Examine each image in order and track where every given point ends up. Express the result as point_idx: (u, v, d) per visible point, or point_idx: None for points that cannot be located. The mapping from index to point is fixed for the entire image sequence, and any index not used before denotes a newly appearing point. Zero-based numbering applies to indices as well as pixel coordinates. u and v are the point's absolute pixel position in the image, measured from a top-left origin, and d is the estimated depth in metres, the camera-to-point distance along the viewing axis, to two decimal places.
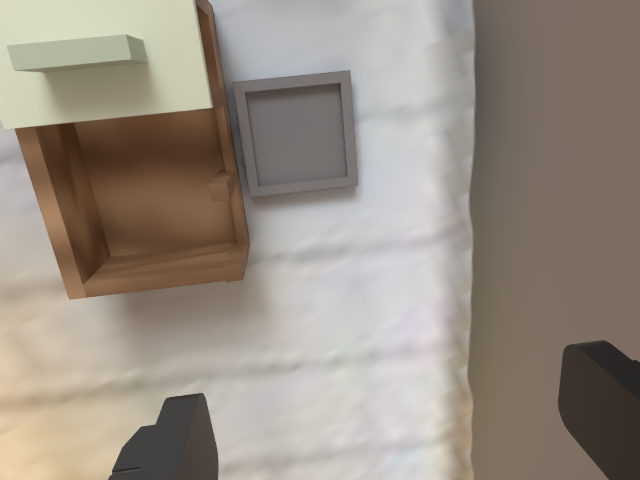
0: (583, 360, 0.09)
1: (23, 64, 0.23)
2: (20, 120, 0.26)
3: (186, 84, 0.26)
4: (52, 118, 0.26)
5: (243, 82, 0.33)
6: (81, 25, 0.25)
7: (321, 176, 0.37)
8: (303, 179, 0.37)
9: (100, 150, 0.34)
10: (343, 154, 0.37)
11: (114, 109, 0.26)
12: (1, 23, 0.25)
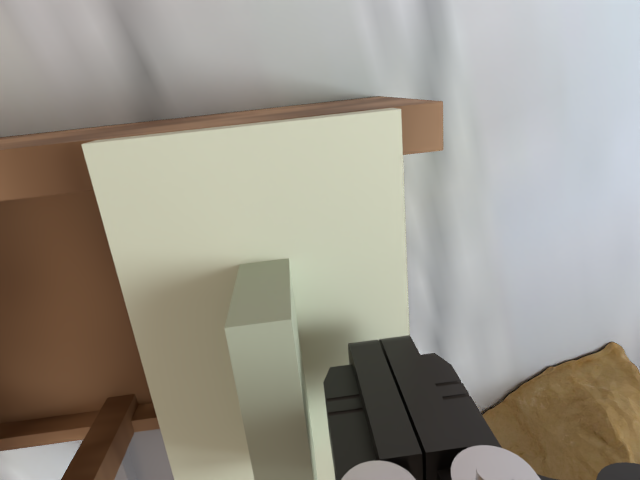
0: (384, 353, 0.10)
1: (244, 352, 0.08)
2: (113, 192, 0.10)
3: None
4: (130, 268, 0.10)
5: None
6: (341, 350, 0.12)
7: None
8: None
9: None
10: None
11: (170, 395, 0.12)
12: (345, 190, 0.10)
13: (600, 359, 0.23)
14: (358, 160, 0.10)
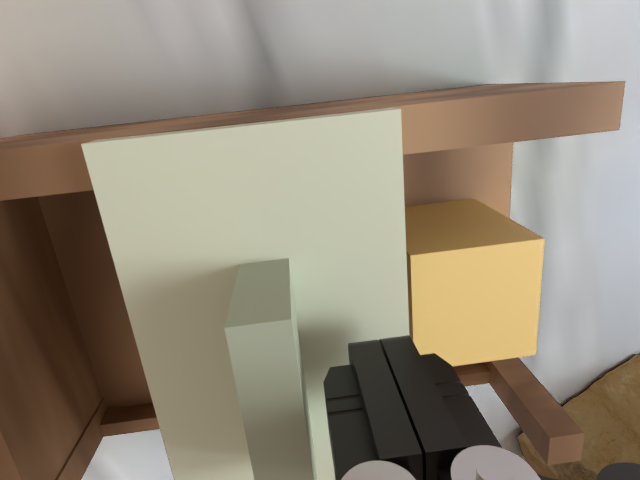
0: (384, 353, 0.10)
1: (244, 352, 0.08)
2: (113, 192, 0.10)
3: None
4: (130, 268, 0.10)
5: None
6: (341, 350, 0.12)
7: None
8: None
9: None
10: None
11: (170, 395, 0.12)
12: (345, 190, 0.10)
13: None
14: (358, 160, 0.10)
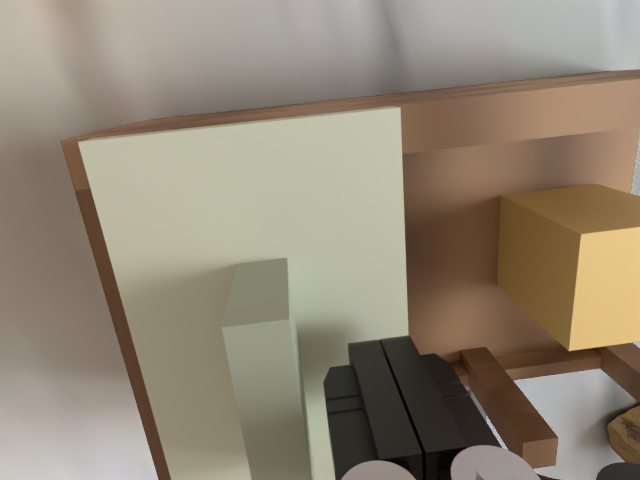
0: (384, 353, 0.10)
1: (241, 352, 0.08)
2: (110, 190, 0.10)
3: None
4: (127, 267, 0.10)
5: None
6: (339, 350, 0.12)
7: None
8: None
9: None
10: None
11: (168, 396, 0.12)
12: (344, 189, 0.10)
13: None
14: (357, 159, 0.10)
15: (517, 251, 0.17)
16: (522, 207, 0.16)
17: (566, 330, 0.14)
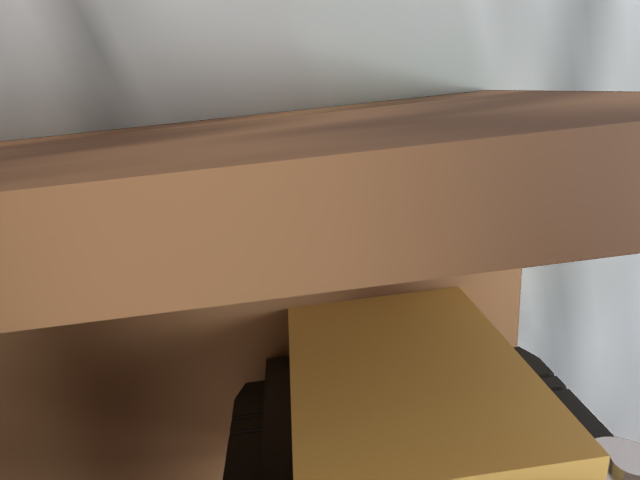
0: None
1: None
2: None
3: None
4: None
5: None
6: None
7: None
8: None
9: None
10: None
11: None
12: None
13: None
14: None
15: None
16: (289, 352, 0.08)
17: None
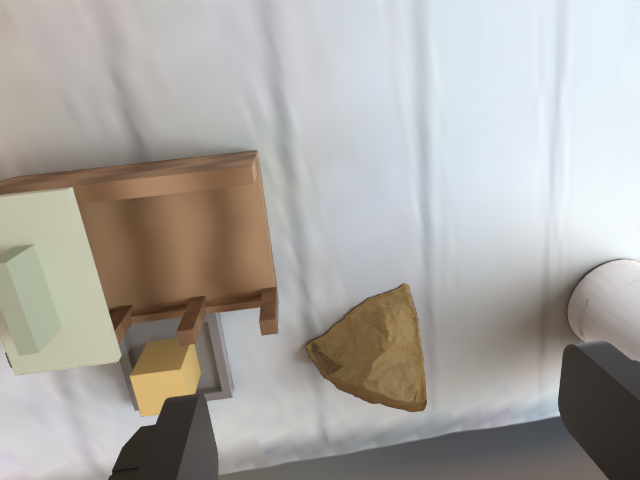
0: (584, 360, 0.09)
1: None
2: None
3: (31, 358, 0.30)
4: None
5: (215, 321, 0.38)
6: (64, 282, 0.29)
7: None
8: (135, 364, 0.40)
9: (138, 200, 0.34)
10: None
11: None
12: (51, 219, 0.27)
13: (395, 292, 0.40)
14: (54, 207, 0.27)
15: None
16: (142, 352, 0.38)
17: (140, 408, 0.36)
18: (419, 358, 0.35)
